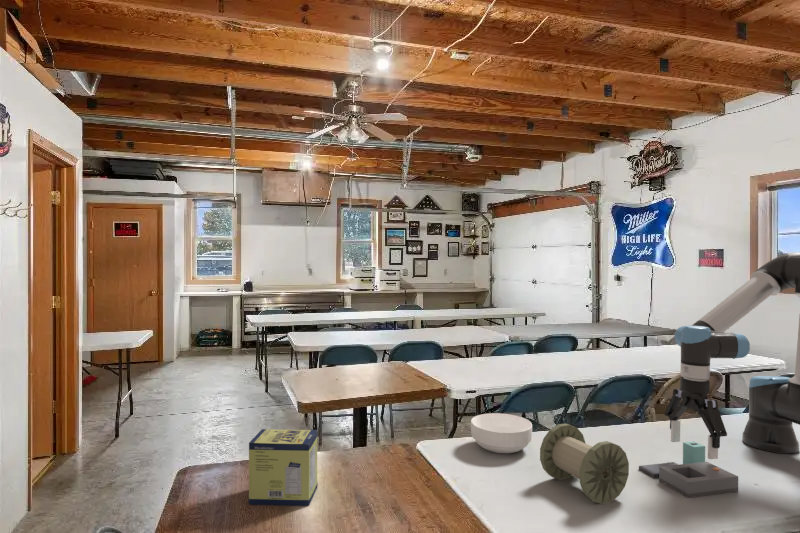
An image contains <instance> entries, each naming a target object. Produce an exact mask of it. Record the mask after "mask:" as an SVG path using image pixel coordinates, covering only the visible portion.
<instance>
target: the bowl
mask: <svg viewBox="0 0 800 533" xmlns="http://www.w3.org/2000/svg"><path fill="white" fill-rule="evenodd" d="M470 432H471V433H470V434H471V437H472V438H473V439H474V441H475V442H476V443H477V444H478V445H479V446H480V447H481V448H483V449H484V450H486V451H489V452H493V453H497V454H513V453H517V452H520V451H521V450H523V449H525V448H526V447H527V446H528V445H529V444H530V443H531V442H532V438H533V424H532V422H531V421H530V420H529V419H527V418H525V417H522V416H519V415H515V414H508V413H499V412H497V413H496V412H494V413H493V412H492V413H491V412H490V413H483V414H478V415H475V416H473V417H472V418H471V420H470Z"/></svg>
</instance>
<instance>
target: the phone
mask: <svg viewBox="0 0 800 533" xmlns="http://www.w3.org/2000/svg"><path fill="white" fill-rule="evenodd" d="M670 465H679V464H677V463H675V462H664V463H662V462H661V463H654V464H643V465H639V466H638V470H640V471H641V472H643V473H644V474H647V475H649V476H650V477H652V478H653V479H657V478H659V467H661V466H670Z"/></svg>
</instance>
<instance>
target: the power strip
mask: <svg viewBox="0 0 800 533" xmlns="http://www.w3.org/2000/svg"><path fill="white" fill-rule="evenodd" d="M658 478H659V480H658V481H659V482H660V483H661V484H664V485H665V486H667V487H669V488H670V489H673V490H674V491H676V492H678V493H679V494H681V495H683V496H684V497H686V498H698V497H705V496H711V495H720V494H721V495H722V494H728V493H736V492H737V493H738V492H739V476H738V475H736V474H734V473H732V472H730V471H728V470H726V469H723V468H721V467H720V466H716V465H715V464H712V463H710V462H708V461H705V462H699V463H689V464H683V463H681V464H678V465H670V466H661V467H659V477H658Z"/></svg>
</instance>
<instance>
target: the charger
mask: <svg viewBox="0 0 800 533" xmlns="http://www.w3.org/2000/svg"><path fill="white" fill-rule="evenodd" d="M699 462H706V446H705V445H704V444H701V443H699V442H697V441H695V440H694V441H692V440H691V441H684V442H682V464H689V463H699Z"/></svg>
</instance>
